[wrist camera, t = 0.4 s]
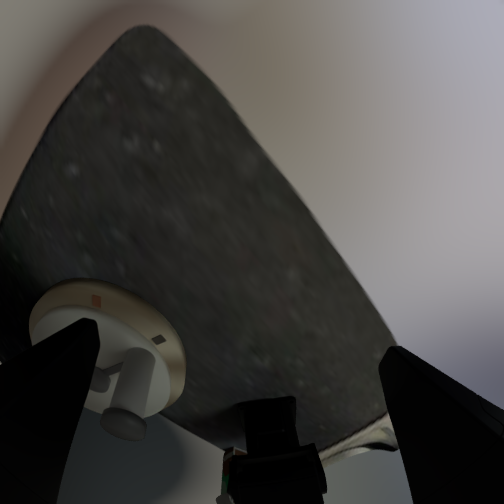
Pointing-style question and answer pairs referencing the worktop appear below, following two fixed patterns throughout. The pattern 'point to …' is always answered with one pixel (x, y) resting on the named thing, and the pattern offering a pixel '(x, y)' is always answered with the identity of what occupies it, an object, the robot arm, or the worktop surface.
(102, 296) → the dial base
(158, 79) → the worktop surface
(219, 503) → the food container
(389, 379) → the robot arm
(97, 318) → the dial
